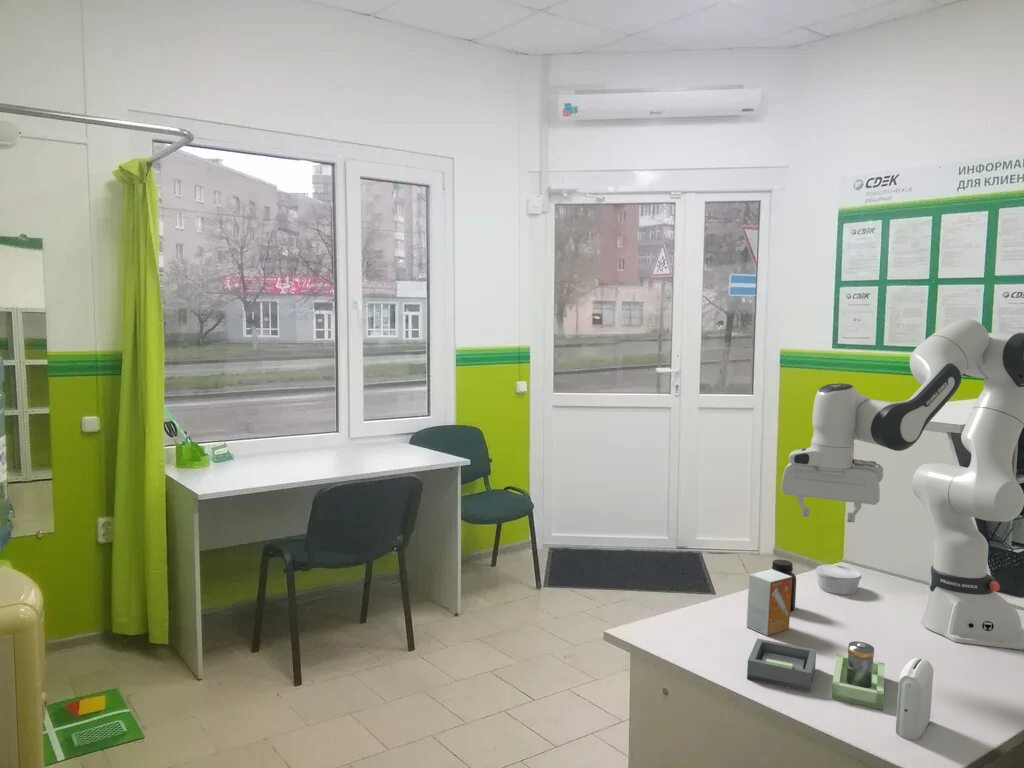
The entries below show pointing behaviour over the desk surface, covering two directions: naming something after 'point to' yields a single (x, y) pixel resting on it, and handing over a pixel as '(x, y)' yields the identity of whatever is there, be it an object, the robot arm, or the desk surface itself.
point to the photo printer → (914, 699)
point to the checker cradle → (781, 665)
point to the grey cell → (860, 664)
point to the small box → (769, 601)
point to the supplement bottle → (787, 569)
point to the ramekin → (838, 579)
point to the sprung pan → (784, 659)
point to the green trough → (855, 693)
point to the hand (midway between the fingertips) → (828, 518)
